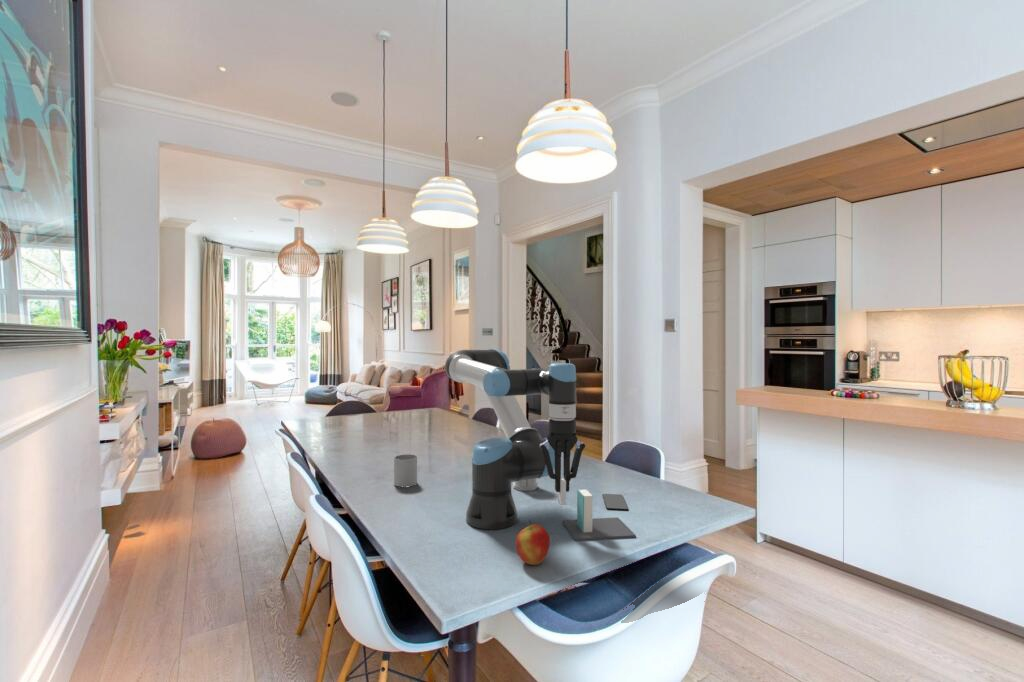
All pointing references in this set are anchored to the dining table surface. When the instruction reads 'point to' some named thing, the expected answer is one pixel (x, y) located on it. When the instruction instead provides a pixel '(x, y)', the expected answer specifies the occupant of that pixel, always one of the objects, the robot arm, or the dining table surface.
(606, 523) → the mat
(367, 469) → the dining table surface
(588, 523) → the teal white block
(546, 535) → the apple
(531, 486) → the cup
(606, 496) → the smartphone
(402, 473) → the cup
